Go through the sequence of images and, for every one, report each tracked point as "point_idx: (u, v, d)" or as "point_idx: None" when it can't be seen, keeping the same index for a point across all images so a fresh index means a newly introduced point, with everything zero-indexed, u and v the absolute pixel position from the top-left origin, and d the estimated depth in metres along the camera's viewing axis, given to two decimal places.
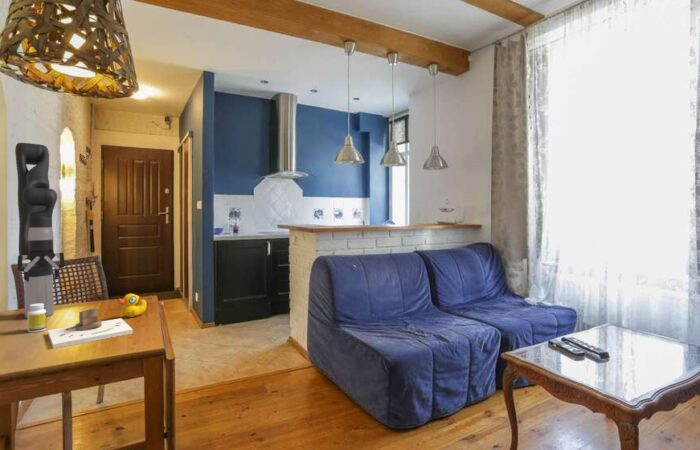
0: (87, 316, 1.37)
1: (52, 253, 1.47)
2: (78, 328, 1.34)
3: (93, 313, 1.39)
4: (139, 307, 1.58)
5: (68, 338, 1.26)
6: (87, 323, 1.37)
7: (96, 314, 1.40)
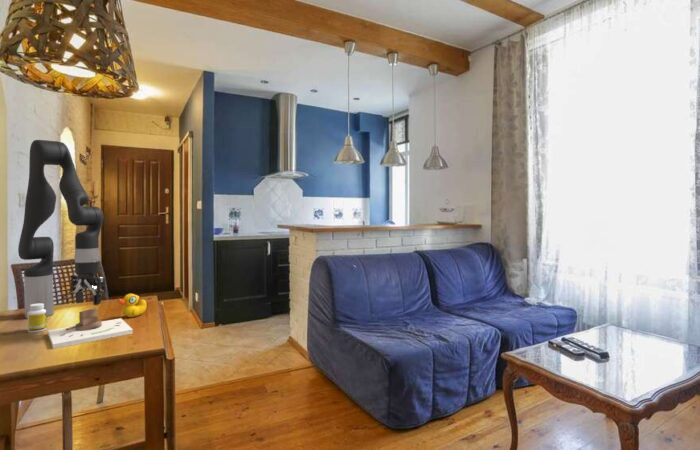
0: (87, 316, 1.37)
1: None
2: (78, 328, 1.34)
3: (93, 313, 1.39)
4: (139, 307, 1.58)
5: (68, 338, 1.26)
6: (87, 323, 1.37)
7: (96, 314, 1.40)
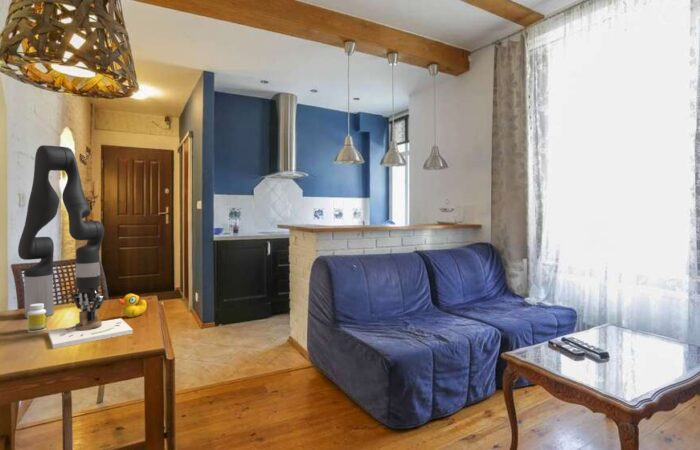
0: (87, 316, 1.37)
1: None
2: (78, 328, 1.34)
3: None
4: (139, 307, 1.58)
5: (68, 338, 1.26)
6: (87, 323, 1.37)
7: (96, 314, 1.40)
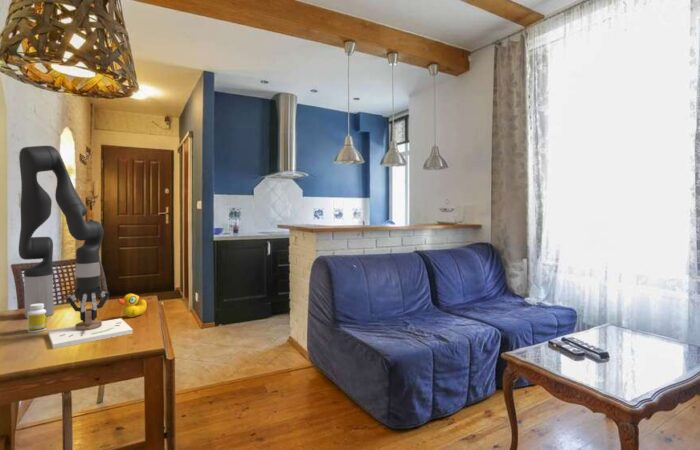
0: (91, 315, 1.38)
1: None
2: (88, 328, 1.35)
3: (91, 312, 1.40)
4: (139, 307, 1.58)
5: (68, 338, 1.26)
6: (91, 322, 1.38)
7: None
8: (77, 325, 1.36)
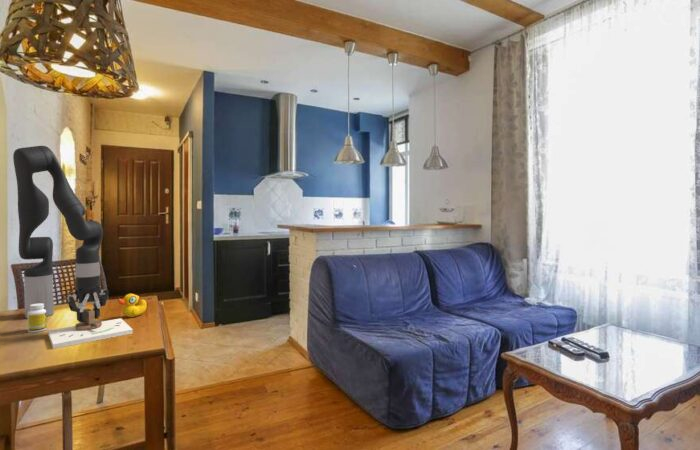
0: None
1: None
2: (93, 327, 1.36)
3: None
4: (139, 307, 1.58)
5: (68, 338, 1.26)
6: None
7: None
8: (78, 325, 1.35)
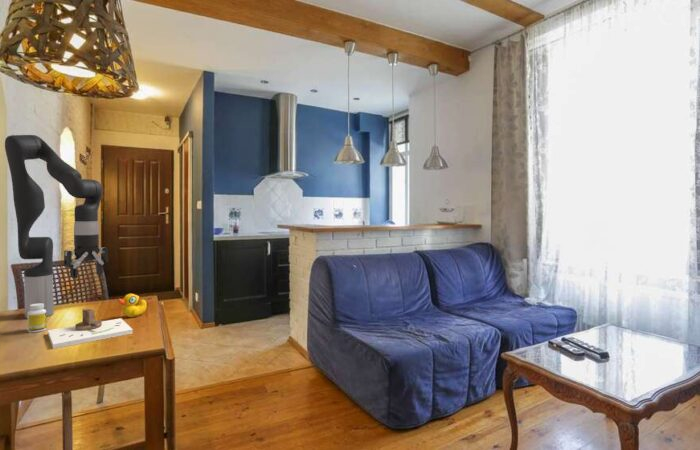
0: None
1: None
2: (94, 327, 1.36)
3: None
4: (139, 307, 1.58)
5: (68, 338, 1.26)
6: None
7: None
8: (78, 325, 1.35)
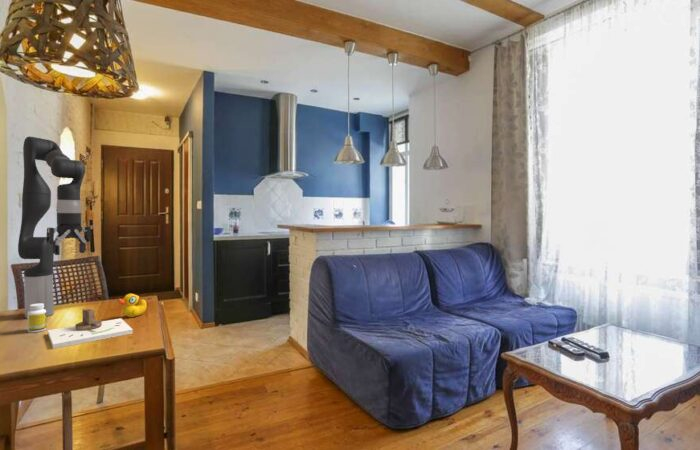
0: None
1: None
2: (94, 327, 1.36)
3: None
4: (139, 307, 1.58)
5: (68, 338, 1.26)
6: None
7: None
8: (78, 325, 1.35)
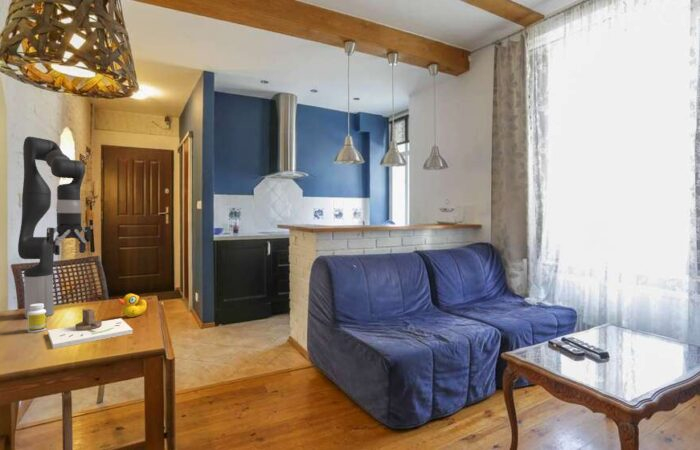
0: None
1: None
2: (94, 327, 1.36)
3: None
4: (139, 307, 1.58)
5: (68, 338, 1.26)
6: None
7: None
8: (78, 325, 1.35)
